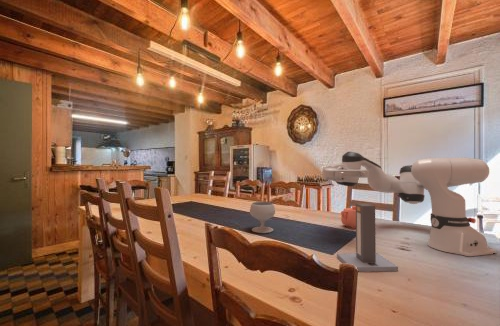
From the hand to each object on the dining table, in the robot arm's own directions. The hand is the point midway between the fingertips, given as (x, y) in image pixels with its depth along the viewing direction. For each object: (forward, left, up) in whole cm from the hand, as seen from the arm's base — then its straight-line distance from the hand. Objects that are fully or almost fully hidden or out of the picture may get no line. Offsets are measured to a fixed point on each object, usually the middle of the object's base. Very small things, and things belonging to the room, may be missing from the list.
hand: (352, 174), depth 101 cm
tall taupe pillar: (+4, +17, -30) cm, 35 cm away
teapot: (-17, -32, -32) cm, 48 cm away
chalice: (+38, -27, -32) cm, 57 cm away
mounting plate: (+4, +17, -32) cm, 37 cm away
